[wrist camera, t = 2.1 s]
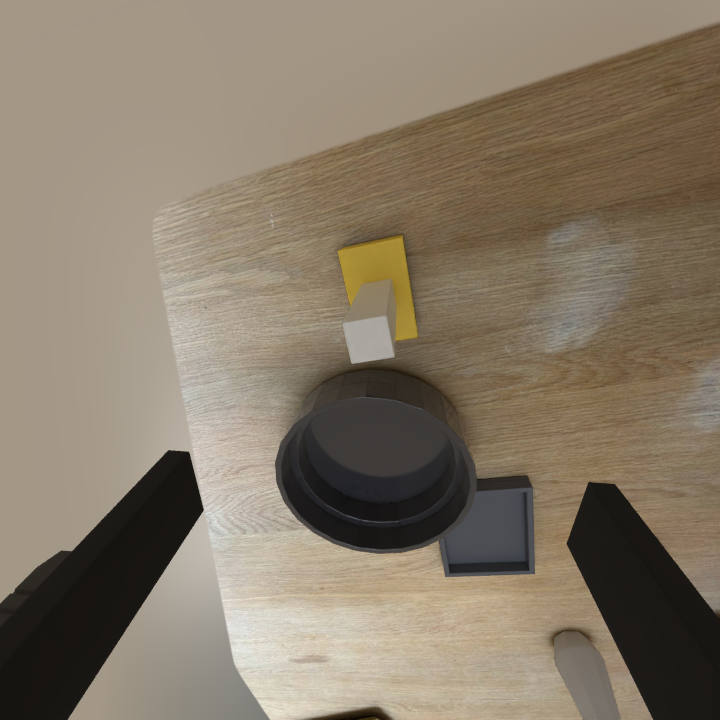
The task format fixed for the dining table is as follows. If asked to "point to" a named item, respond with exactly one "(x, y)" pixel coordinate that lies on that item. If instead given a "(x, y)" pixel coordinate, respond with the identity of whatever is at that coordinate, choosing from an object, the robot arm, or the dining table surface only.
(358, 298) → the sponge brush
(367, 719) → the plate
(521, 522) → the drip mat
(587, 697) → the salt shaker
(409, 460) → the bowl
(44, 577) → the robot arm
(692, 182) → the dining table surface
